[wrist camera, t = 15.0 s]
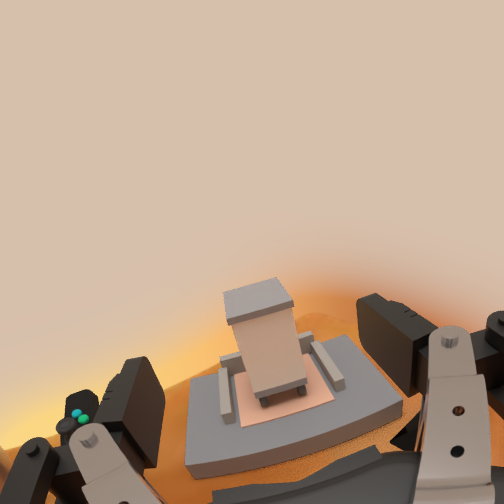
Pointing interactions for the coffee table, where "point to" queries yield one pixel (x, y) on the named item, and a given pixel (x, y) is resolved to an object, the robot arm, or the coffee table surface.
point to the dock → (285, 410)
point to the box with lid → (266, 337)
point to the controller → (77, 413)
